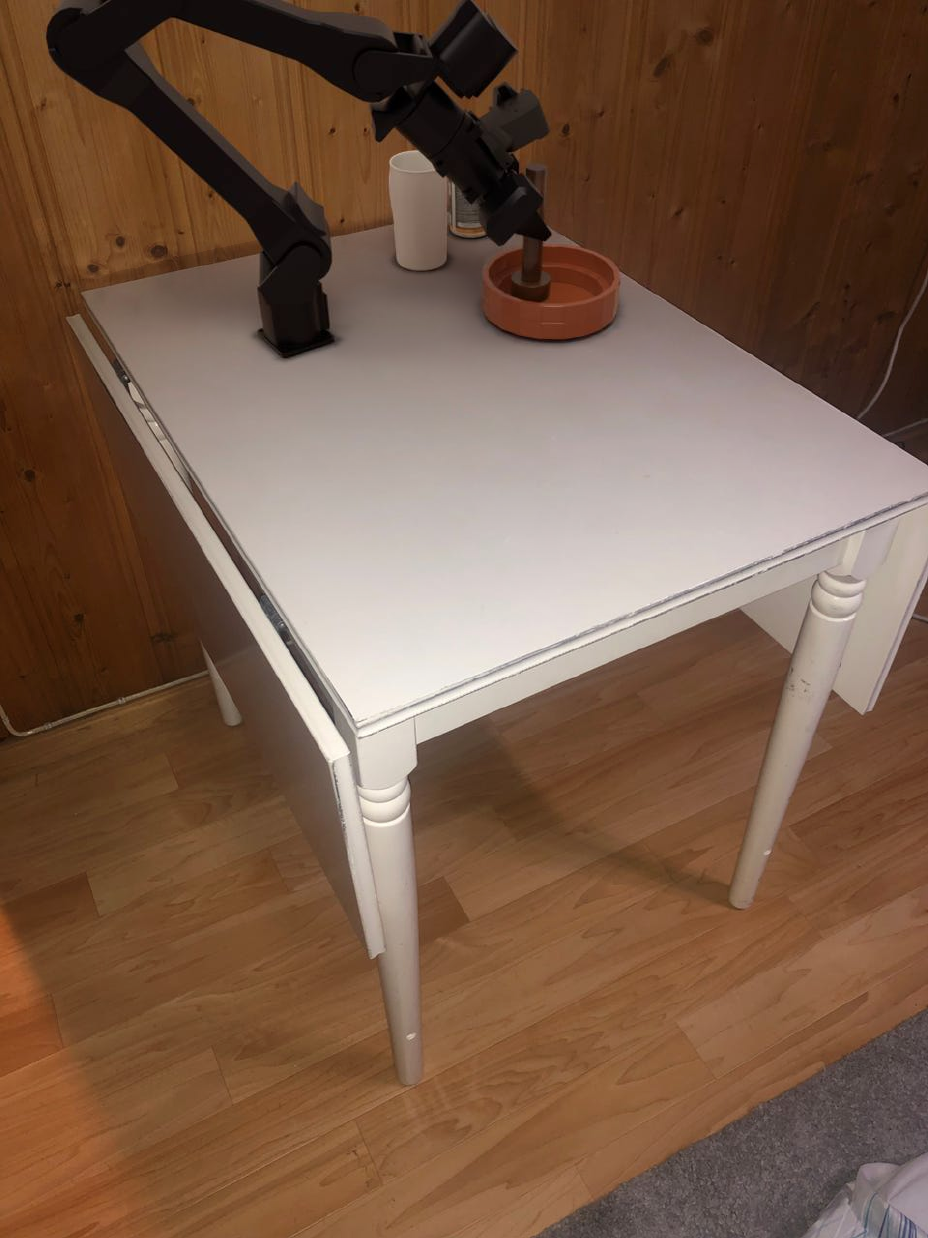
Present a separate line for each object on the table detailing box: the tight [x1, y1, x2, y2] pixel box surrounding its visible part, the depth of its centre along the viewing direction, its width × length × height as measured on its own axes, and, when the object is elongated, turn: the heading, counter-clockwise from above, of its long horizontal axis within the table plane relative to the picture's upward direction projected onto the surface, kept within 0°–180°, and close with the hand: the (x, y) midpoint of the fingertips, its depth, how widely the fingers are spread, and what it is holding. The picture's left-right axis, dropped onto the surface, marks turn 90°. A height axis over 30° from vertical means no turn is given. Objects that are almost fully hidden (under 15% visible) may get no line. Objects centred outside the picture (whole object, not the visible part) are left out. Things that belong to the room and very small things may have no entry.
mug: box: [388, 149, 448, 272], centre depth 123 cm, size 10×7×12 cm, turn 34°
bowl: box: [481, 243, 622, 340], centre depth 116 cm, size 15×15×4 cm
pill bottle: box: [448, 179, 487, 239], centre depth 129 cm, size 6×6×10 cm
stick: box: [511, 162, 551, 303], centre depth 109 cm, size 4×4×14 cm
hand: (545, 232), depth 109 cm, fingers closed on stick, 2 cm apart
